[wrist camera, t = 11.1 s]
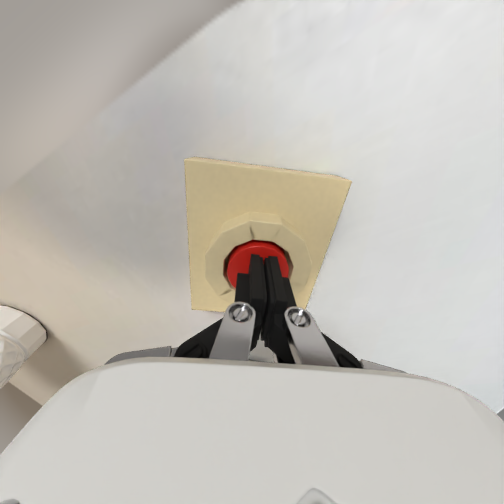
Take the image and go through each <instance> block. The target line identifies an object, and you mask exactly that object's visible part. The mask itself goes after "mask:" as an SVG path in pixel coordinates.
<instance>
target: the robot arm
mask: <svg viewBox="0 0 504 504" xmlns="http://www.w3.org/2000/svg"><path fill="white" fill-rule="evenodd" d="M260 331H261V340H264V342H265V347H268V348H270V349H271V350H272V351H273V359H274V363H270V362H255V361H248V360H249V353H250V351H252V350H253V349H254V348H255V347H256V345H257V340H259V335H260ZM0 504H504V421H503V420H502V419H501V418H500V417H499V416H498V415H497V414H496V413H494V412H493V411H492V410H491V409H490V408H489V407H488V406H486V405H485V404H484V403H482V402H481V401H479V400H478V399H477V398H475V397H473V396H471V395H470V394H468V393H466V392H464V391H462V390H460V389H458V388H455V387H453V386H451V385H448V384H446V383H443V382H440V381H437V380H434V379H430V378H427V377H423V376H418V375H413V374H408V373H406V372H404V371H401V370H397V369H394V368H390V367H387V366H384V365H380V364H377V363H373V362H370V361H366V360H363V359H361V360H360V361H358V360H357V358H355V357H354V356H353V355H352V354H351V353H349V352H348V351H346V350H345V349H344V348H342V347H341V346H340V345H338V344H337V343H335V342H334V341H333V340H331V339H330V338H329V337H327V336H326V335H324V334H323V333H322V332H321V331H320V329H319V328H318V326H317V324H316V322H315V320H314V318H313V317H312V315H311V314H310V313H309V312H308V311H307V310H305V309H303V308H301V307H297V305H296V302H295V298H294V295H293V291H292V288H291V284H290V281H289V278H287V277H282V274H281V270H280V265H279V261H278V257H277V256H268V258H265V260H264V264H263V257H260V255H257V254H251V257H250V265H249V272H248V274H245V273H237V281H236V291H235V300H234V303H232V304H230V305H229V306H228V307H227V309H226V311H225V314H224V317H223V318H222V319H220V320H219V321H217V322H215V323H214V324H212V325H211V326H209V327H208V328H206V329H204V330H203V331H201V332H200V333H198V334H197V335H195V336H193V337H192V338H190V339H189V340H187V341H185V342H184V343H183V344H181V345H180V346H179V347H177V348H171V346H167V347H160V348H153V349H146V350H139V351H132V352H125V353H121V354H118V355H116V356H114V357H113V358H111V359H110V360H109V361H108V362H107V363H105V364H104V365H103V366H100V367H97V368H95V369H92V370H90V371H88V372H85V373H83V374H81V375H79V376H78V377H76V378H74V379H73V380H71V381H70V382H68V383H67V384H66V385H64V386H63V387H62V388H61V389H60V390H59V391H58V392H56V393H55V394H54V395H53V396H52V397H51V398H50V399H49V400H48V401H47V402H46V403H45V404H44V405H43V406H42V408H41V409H40V410H39V411H38V412H37V413H36V414H35V415H34V416H33V417H32V418H31V420H30V421H29V422H28V423H27V424H26V425H25V427H24V428H23V429H22V430H21V431H20V433H19V434H18V435H17V436H16V437H15V438H14V439H13V441H12V442H11V443H10V444H9V445H8V446H7V448H6V449H5V450H4V451H3V452H2V454H1V455H0Z"/></svg>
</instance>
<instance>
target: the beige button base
mask: <svg viewBox="0 0 504 504" xmlns="http://www.w3.org/2000/svg"><path fill="white" fill-rule="evenodd" d="M184 165H185V185H186V205H187V225H188V245H189V265H190V286H191V306H192V310H204V311H217V312H225V311H226V309H227V307H228V306H229V305H230V304H232V303H234V300H235V291H236V289H235V288H234V287H233V286H232V284H231V283H230V281H229V279H228V275H227V268H228V263H229V257H230V253H231V251H232V250H233V248H234V247H235V246H238V245H240V244H243V243H245V242H248V241H251V240H262V241H272V242H274V243H276V244H277V245H279V246H280V247H281V248H283V250H284V254H285V257H286V260H287V263H288V267H289V274H288V278H289V281H290V284H291V288H292V291H293V295H294V298H295V302H296V305H297V307H301V308H303V309H306V306H307V303H308V301H309V298H310V295H311V292H312V290H313V287H314V284H315V281H316V279H317V276H318V273H319V270H320V268H321V265H322V262H323V259H324V257H325V254H326V251H327V248H328V246H329V243H330V240H331V238H332V235H333V232H334V229H335V227H336V224H337V221H338V218H339V216H340V213H341V210H342V207H343V205H344V202H345V199H346V196H347V194H348V191H349V188H350V185H351V183H352V181H350V180H348V179H345V178H342V177H339V176H334V175H327V174H319V173H312V172H304V171H297V170H289V169H282V168H274V167H267V166H259V165H252V164H244V163H237V162H230V161H222V160H215V159H207V158H200V157H191V158H187V159H184Z"/></svg>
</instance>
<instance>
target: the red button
mask: <svg viewBox="0 0 504 504" xmlns="http://www.w3.org/2000/svg"><path fill="white" fill-rule="evenodd" d="M251 254H257V255H260V257H263V264H264V260H265V258H268V256H277V257H278V261H279V265H280V270H281V274H282V277H287V278H288V274H289V267H288V263H287V260H286V257H285V254H284V250H283V248H281V247H280V246H279V245H277V244H276V243H274V242H272V241H262V240H251V241H248V242H245V243H243V244H240V245H238V246H235V247H234V248H233V250H232V251H231V253H230V257H229V263H228V268H227V275H228V279H229V281H230V283H231V284H232V286H233V287H234V288H235V289H236V281H237V273H245V274H248V272H249V265H250V257H251Z"/></svg>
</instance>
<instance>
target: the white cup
mask: <svg viewBox="0 0 504 504" xmlns="http://www.w3.org/2000/svg"><path fill="white" fill-rule="evenodd" d="M45 340H46V330H45V329H44V328H43V327H42V325H41V324H40V323H39V322H38V321H37V320H35V319H34V318H32V317H31V316H29V315H27V314H26V313H24V312H21V311H19V310H16V309H13V308H11V307H8V306H2V305H0V389H1V388H2V387H3V386H4V385H5V384H6V383H7V382H8V381H9V380H10V379H11V378H12V376H13V375H14V374H15V373H16V372H17V371H18V370H19V369H20V368H21V367H22V365H23V363H24V362H25V361H26V360H27V359H28V358H29V357H30V356H31V355H32V354H33V353H34V352H35V351H36V350H37V349H38V348H39V347H40V346H41V345H42V344H43V343H44V341H45Z"/></svg>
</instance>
